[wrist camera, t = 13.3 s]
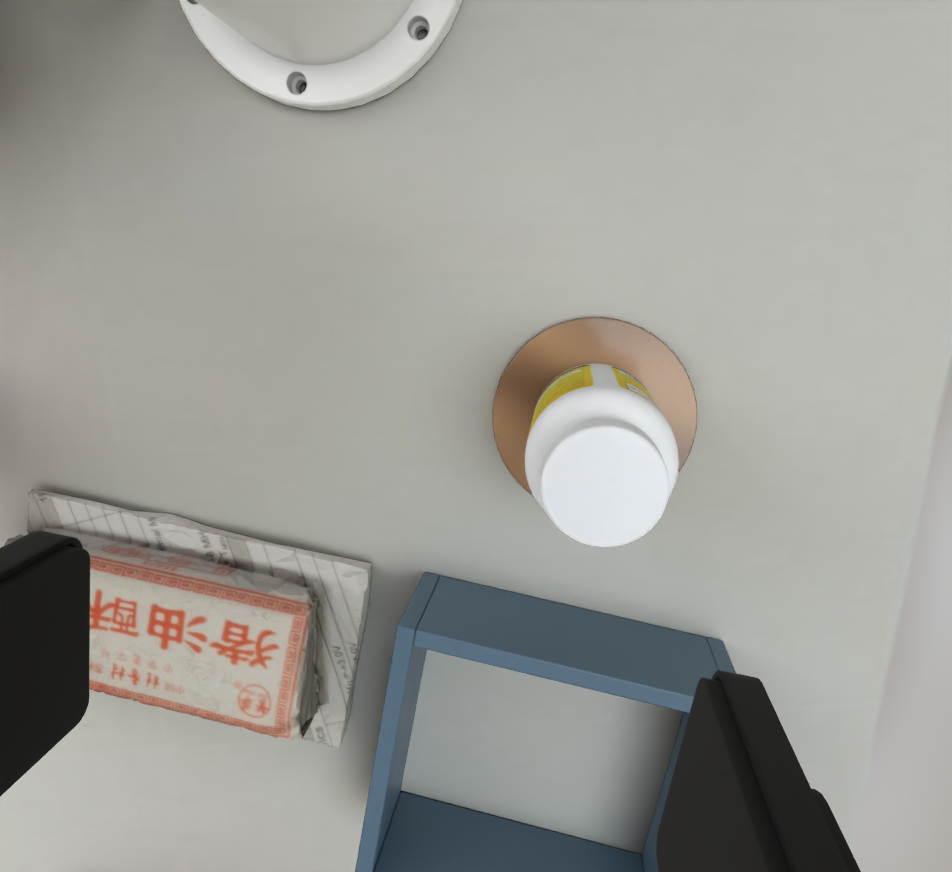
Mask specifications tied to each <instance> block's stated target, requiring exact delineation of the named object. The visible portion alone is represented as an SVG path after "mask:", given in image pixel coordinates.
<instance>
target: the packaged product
mask: <svg viewBox="0 0 952 872" xmlns="http://www.w3.org/2000/svg"><path fill="white" fill-rule="evenodd" d="M28 495H29V509H28V532H29V534H30V533H32V532H35V531H38V530H39V531H46V532H51V533H56V534H60V535H65V536H70V537H75V538H77V539H78V540H80V542H81V544H82V546H83V549H85V550H86V551H88V553H89V555H90V657H89V689H91V690H94V691H97V692H104V693H106V694H109V695H113V696H117V697H121V698H125V699H132V700H134V701H139V702H141V703H143V704H147V705H152V706H158V707H162V708H165V709H168V710H172V711H176V712H181V713H185V714H190V715H193V716H198V717H201V718H204V719H208V720H212V721H217V722H220V723H224V724H229V725H233V726H240V727H244V728H247V729H249V730H252V731H255V732H258V733H261V734H266V735H270V736H273V737H276V738H286V739H289V740H294V739H298V738H301V739H304V740H311V741H315V742H318V743H323V744H326V745H328V746H331V747H335V748H339V747H341V743H342V740H343V737H344V733H345V730H346V726H347V723H348V720H349V716H350V710H351V702H352V695H353V688H354V680H355V673H356V668H357V663H358V658H359V653H360V647H361V642H362V637H363V632H364V627H365V621H366V616H367V611H368V605H369V594H370V582H371V570H372V564H371V563H366V562H362V561H357V560H352V559H347V558H342V557H338V556H333V555H328V554H323V553H318V552H314V551H309V550H304V549H299V548H294V547H289V546H284V545H278V544H274V543H270V542H266V541H262V540H259V539H255V538H251V537H247V536H243V535H239V534H235V533H232V532H228V531H224V530H220V529H216V528H212V527H208V526H205V525H202V524H199V523H197V522H194V521H191V520H188V519H185V518H182V517H179V516H177V515H174V514H169V513H155V512H141V511H131V510H127V509H123V508H119V507H115V506H111V505H107V504H103V503H99V502H95V501H90V500H85V499H81V498H76V497H71V496H66V495H61V494H57V493H52V492H47V491H41V490H33V489H32V490H31V491H30V492H29V493H28ZM22 537H24V536H22V535H18V536H16V537H14V538H10V539H8V540H7V542H6V543H5V545H4V546H6V545H8V544H10V543H12V542H14V541H16V540H18V539H20V538H22ZM4 546H3V547H4ZM1 548H2V547H1Z"/></svg>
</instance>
